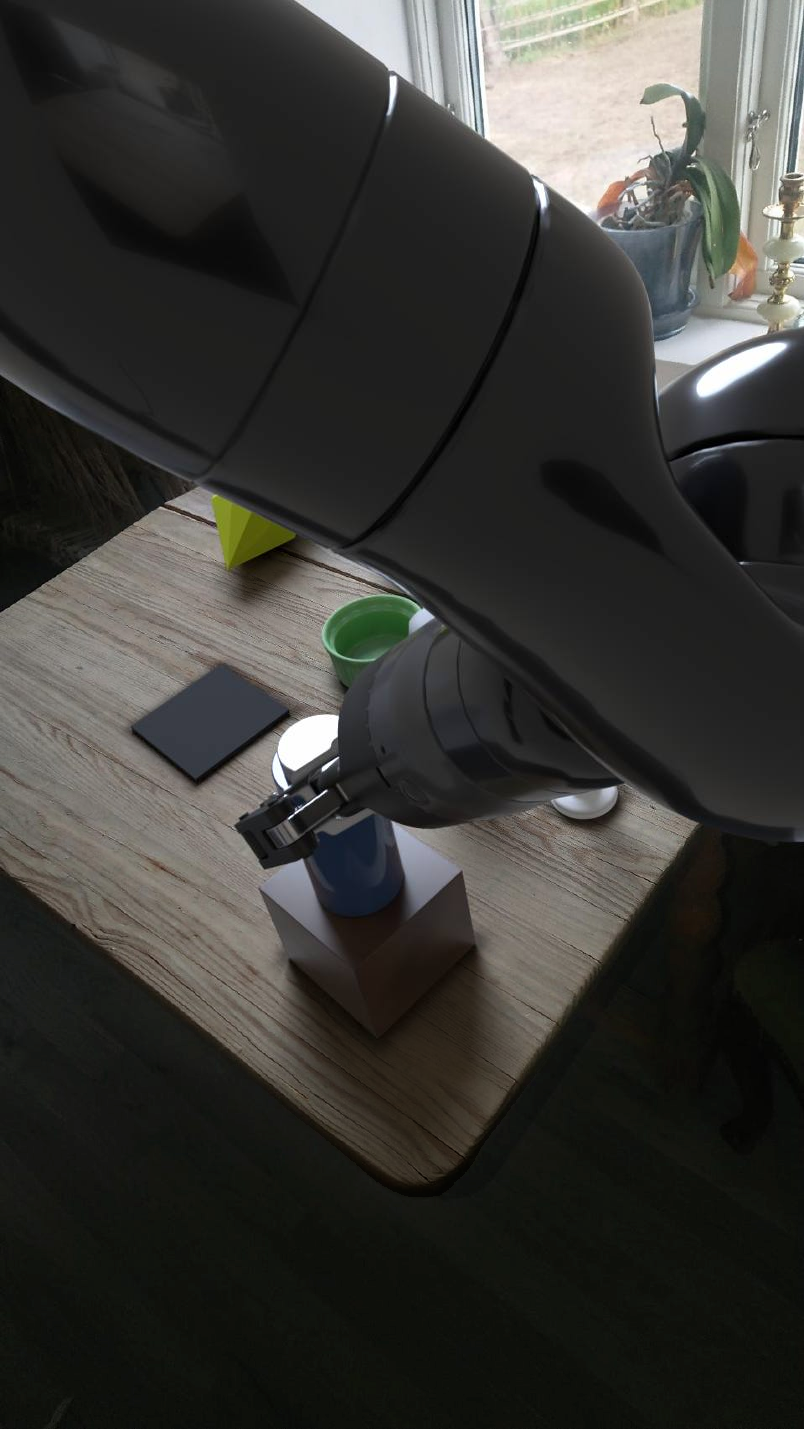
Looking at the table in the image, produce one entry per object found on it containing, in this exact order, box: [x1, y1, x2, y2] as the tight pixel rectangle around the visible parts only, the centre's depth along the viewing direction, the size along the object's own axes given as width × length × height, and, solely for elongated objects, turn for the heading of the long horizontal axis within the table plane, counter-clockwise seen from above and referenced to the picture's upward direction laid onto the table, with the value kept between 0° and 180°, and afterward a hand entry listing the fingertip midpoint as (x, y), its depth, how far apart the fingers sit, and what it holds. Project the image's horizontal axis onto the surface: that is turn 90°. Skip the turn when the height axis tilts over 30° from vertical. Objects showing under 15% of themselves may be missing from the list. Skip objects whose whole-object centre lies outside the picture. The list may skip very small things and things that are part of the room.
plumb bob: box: [210, 494, 297, 571], centre depth 102 cm, size 9×9×25 cm
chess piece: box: [550, 786, 619, 820], centre depth 68 cm, size 5×5×10 cm
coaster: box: [130, 663, 291, 783], centre depth 84 cm, size 10×10×1 cm
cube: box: [257, 821, 477, 1040], centre depth 62 cm, size 9×9×8 cm
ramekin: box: [321, 594, 422, 688], centre depth 84 cm, size 9×9×4 cm
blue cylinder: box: [270, 713, 404, 917], centre depth 55 cm, size 6×6×12 cm
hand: (341, 772), depth 51 cm, fingers open, 8 cm apart
